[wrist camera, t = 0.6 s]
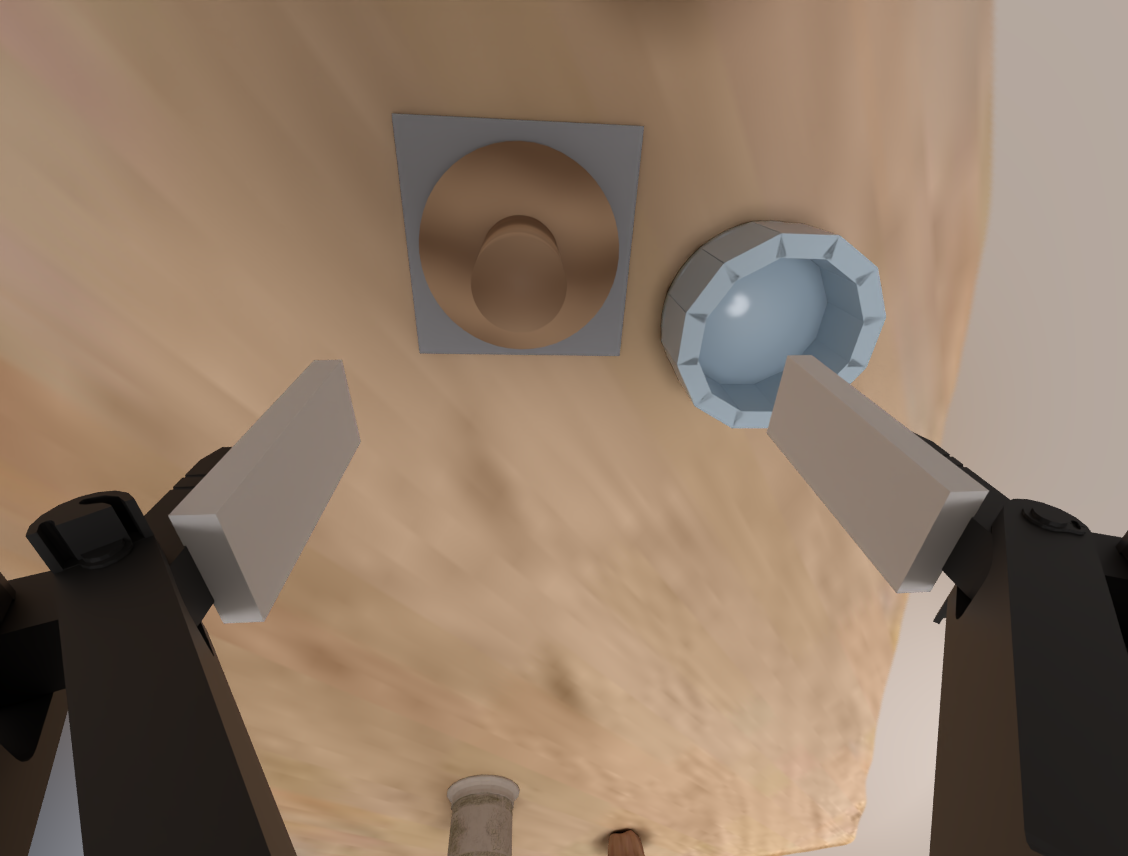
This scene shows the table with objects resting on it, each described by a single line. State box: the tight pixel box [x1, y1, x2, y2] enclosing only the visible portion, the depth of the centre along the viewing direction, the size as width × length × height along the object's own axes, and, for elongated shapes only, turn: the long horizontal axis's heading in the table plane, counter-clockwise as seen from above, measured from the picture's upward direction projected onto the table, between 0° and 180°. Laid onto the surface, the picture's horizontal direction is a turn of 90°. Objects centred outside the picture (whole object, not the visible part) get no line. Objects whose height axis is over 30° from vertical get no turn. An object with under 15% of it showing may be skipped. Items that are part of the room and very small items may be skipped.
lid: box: [419, 141, 619, 349], centre depth 27 cm, size 12×12×8 cm
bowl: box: [661, 220, 886, 428], centre depth 32 cm, size 12×12×5 cm
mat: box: [392, 113, 644, 356], centre depth 31 cm, size 14×14×1 cm
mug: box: [447, 775, 520, 856], centre depth 64 cm, size 14×10×12 cm
